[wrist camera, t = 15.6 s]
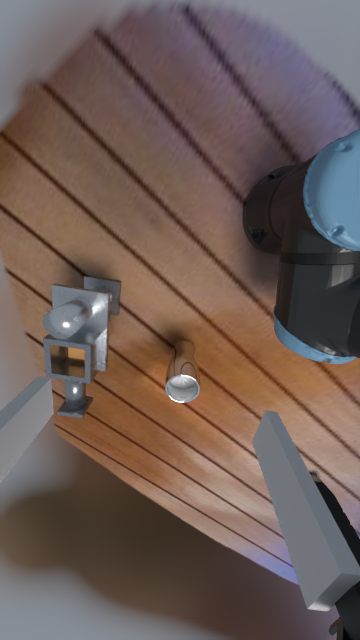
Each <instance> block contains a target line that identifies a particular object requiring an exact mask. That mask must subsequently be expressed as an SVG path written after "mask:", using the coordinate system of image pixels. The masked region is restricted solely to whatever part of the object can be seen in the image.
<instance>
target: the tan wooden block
mask: <svg viewBox="0 0 360 640" xmlns="http://www.w3.org/2000/svg"><path fill="white" fill-rule="evenodd" d="M109 335H110V320H109ZM68 356H69V358H74V359H81V360H85V350H82V349H76V348H70V347H68Z"/></svg>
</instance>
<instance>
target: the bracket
mask: <svg viewBox="0 0 360 640" xmlns="http://www.w3.org/2000/svg"><path fill="white" fill-rule="evenodd" d="M43 343H44V355H45V366H46V377H49V378H56V379H63V380H65V390H66V400H65V402H64V403H63V404H62V406H61V407H60V408H59V410H58V411H57V415H64V416H71V417H78V418H83V417H84V415H85V413H86V411H87V410H88V408H89V406H90V405H91V403H92V401H93V397H89V396H86V383H89V384H91V382H92V381H93V379H94V377H95V376H96V374H97V373H98V371H99V370H100V368H101V334H100V333H94V332H88V331H81V330H78V331H77V332H75V333H74V334H73V335H72V336H71V337H69V338H67V339H58V338H55V337H53V336H51V335H50V334H49V335H47V336H46V337H44V338H43ZM66 347H70V348H76V349H82V350H85V362H82V361H75V360H69V359H66Z"/></svg>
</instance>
